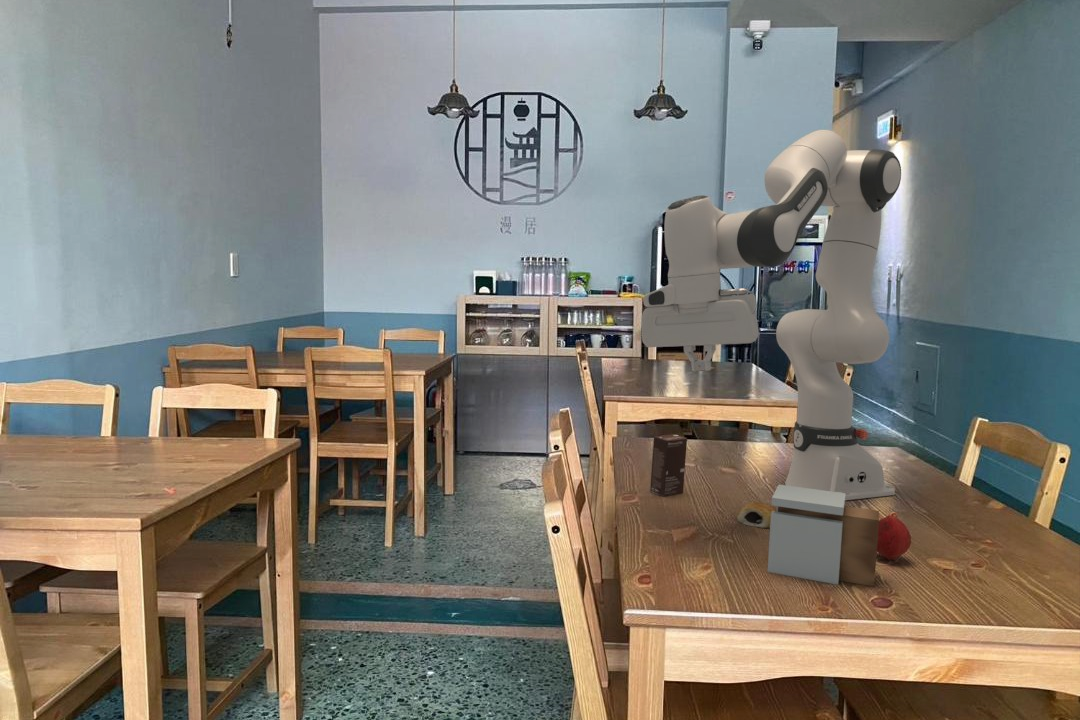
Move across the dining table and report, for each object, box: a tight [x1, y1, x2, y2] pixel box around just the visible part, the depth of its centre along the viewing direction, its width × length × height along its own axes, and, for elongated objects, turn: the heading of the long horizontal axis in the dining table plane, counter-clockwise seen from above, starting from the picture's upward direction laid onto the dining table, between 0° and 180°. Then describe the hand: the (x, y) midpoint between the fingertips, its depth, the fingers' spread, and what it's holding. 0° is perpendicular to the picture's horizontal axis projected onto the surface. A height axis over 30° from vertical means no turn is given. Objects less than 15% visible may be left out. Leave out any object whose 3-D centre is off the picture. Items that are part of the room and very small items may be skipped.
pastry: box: [736, 502, 776, 529], centre depth 134 cm, size 9×7×4 cm
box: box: [649, 433, 688, 497], centre depth 151 cm, size 6×4×12 cm
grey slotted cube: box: [767, 484, 846, 585], centre depth 111 cm, size 10×8×12 cm
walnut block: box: [778, 505, 880, 588], centre depth 110 cm, size 14×5×10 cm, turn 65°
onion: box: [877, 511, 912, 561], centre depth 116 cm, size 6×6×8 cm
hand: (701, 370), depth 126 cm, fingers closed
